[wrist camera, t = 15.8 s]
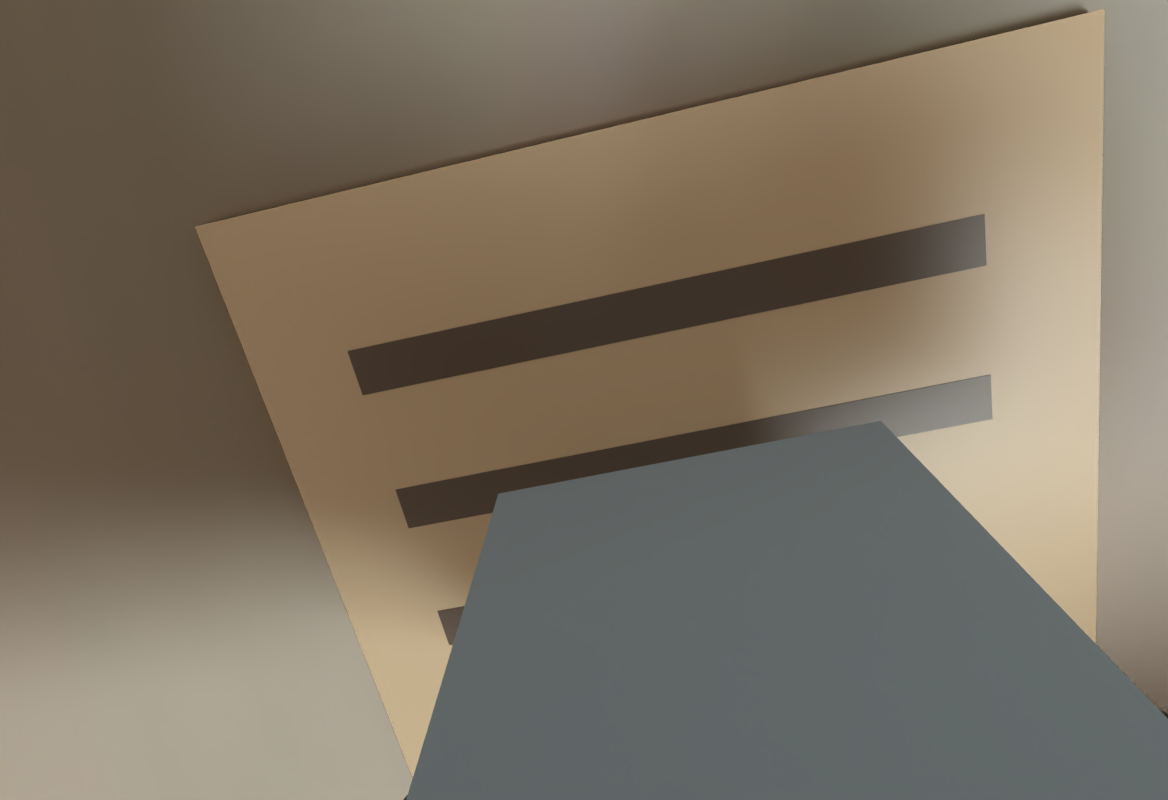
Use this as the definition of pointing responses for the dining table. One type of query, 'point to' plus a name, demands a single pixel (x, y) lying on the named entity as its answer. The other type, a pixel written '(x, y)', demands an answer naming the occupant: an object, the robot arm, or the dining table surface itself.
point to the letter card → (694, 318)
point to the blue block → (774, 645)
